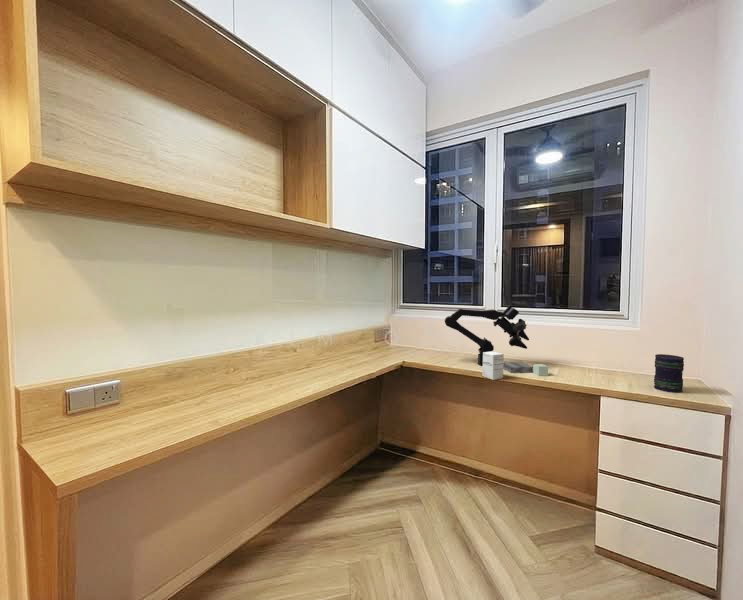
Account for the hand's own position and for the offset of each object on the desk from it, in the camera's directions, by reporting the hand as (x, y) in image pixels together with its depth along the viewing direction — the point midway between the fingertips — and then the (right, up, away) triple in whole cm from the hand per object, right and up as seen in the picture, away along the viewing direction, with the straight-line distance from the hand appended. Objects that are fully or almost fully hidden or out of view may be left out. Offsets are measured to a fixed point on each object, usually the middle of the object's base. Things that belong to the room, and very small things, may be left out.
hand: (527, 344), depth 194 cm
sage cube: (-1, -14, -17) cm, 22 cm away
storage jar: (+44, -15, -42) cm, 62 cm away
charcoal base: (-10, -13, -7) cm, 18 cm away
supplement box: (-28, -14, -21) cm, 38 cm away
